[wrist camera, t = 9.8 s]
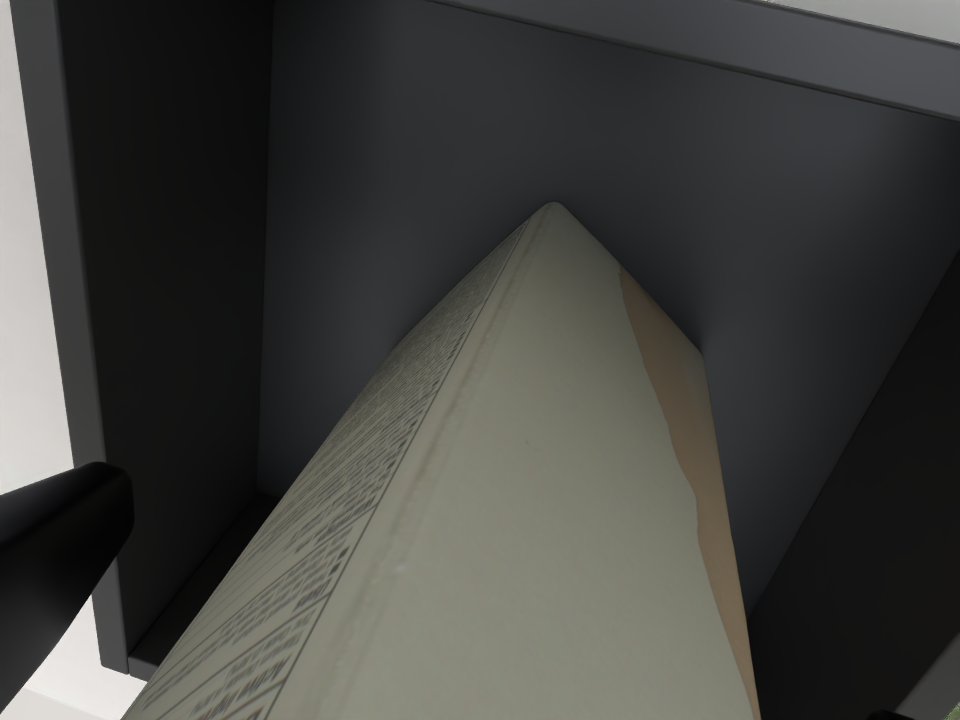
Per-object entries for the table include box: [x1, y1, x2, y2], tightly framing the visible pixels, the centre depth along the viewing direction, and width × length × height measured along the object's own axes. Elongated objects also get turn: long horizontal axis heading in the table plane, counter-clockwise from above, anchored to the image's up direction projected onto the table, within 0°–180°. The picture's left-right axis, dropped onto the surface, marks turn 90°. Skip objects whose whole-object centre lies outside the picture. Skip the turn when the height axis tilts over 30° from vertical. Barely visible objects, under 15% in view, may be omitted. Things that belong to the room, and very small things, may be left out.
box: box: [121, 202, 761, 720], centre depth 9 cm, size 5×4×11 cm
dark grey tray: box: [10, 0, 960, 720], centre depth 12 cm, size 13×13×6 cm
